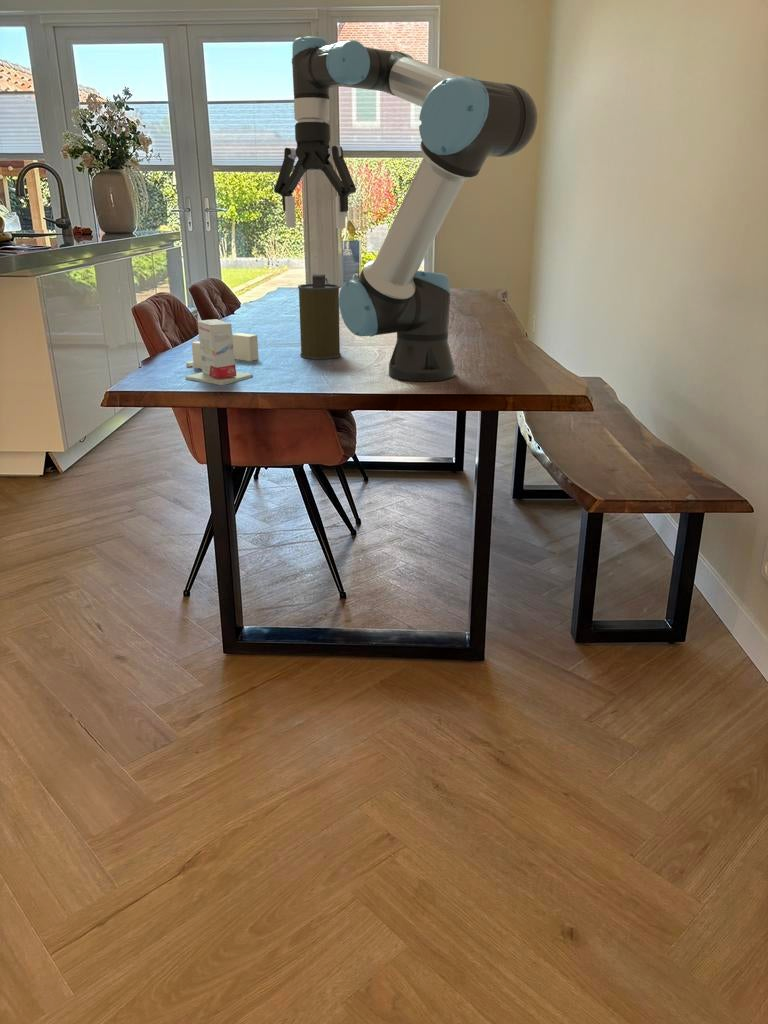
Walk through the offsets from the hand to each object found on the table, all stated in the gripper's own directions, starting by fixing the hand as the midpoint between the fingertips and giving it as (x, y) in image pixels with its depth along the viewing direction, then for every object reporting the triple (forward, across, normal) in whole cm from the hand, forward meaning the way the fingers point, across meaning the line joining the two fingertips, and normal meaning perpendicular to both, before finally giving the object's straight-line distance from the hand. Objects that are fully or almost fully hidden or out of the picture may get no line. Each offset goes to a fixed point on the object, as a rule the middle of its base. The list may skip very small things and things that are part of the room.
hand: (315, 227), depth 172 cm
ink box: (+31, +12, +22) cm, 40 cm away
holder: (+31, +23, +9) cm, 40 cm away
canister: (+31, +8, -12) cm, 35 cm away
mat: (+31, +12, +22) cm, 40 cm away
